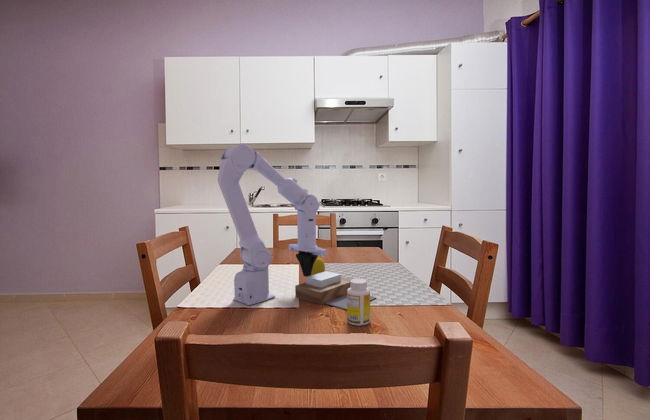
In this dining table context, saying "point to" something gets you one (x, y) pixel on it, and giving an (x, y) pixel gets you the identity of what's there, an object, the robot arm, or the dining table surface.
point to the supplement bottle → (358, 303)
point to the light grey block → (323, 279)
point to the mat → (342, 302)
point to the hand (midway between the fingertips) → (307, 275)
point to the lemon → (318, 266)
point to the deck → (322, 291)
